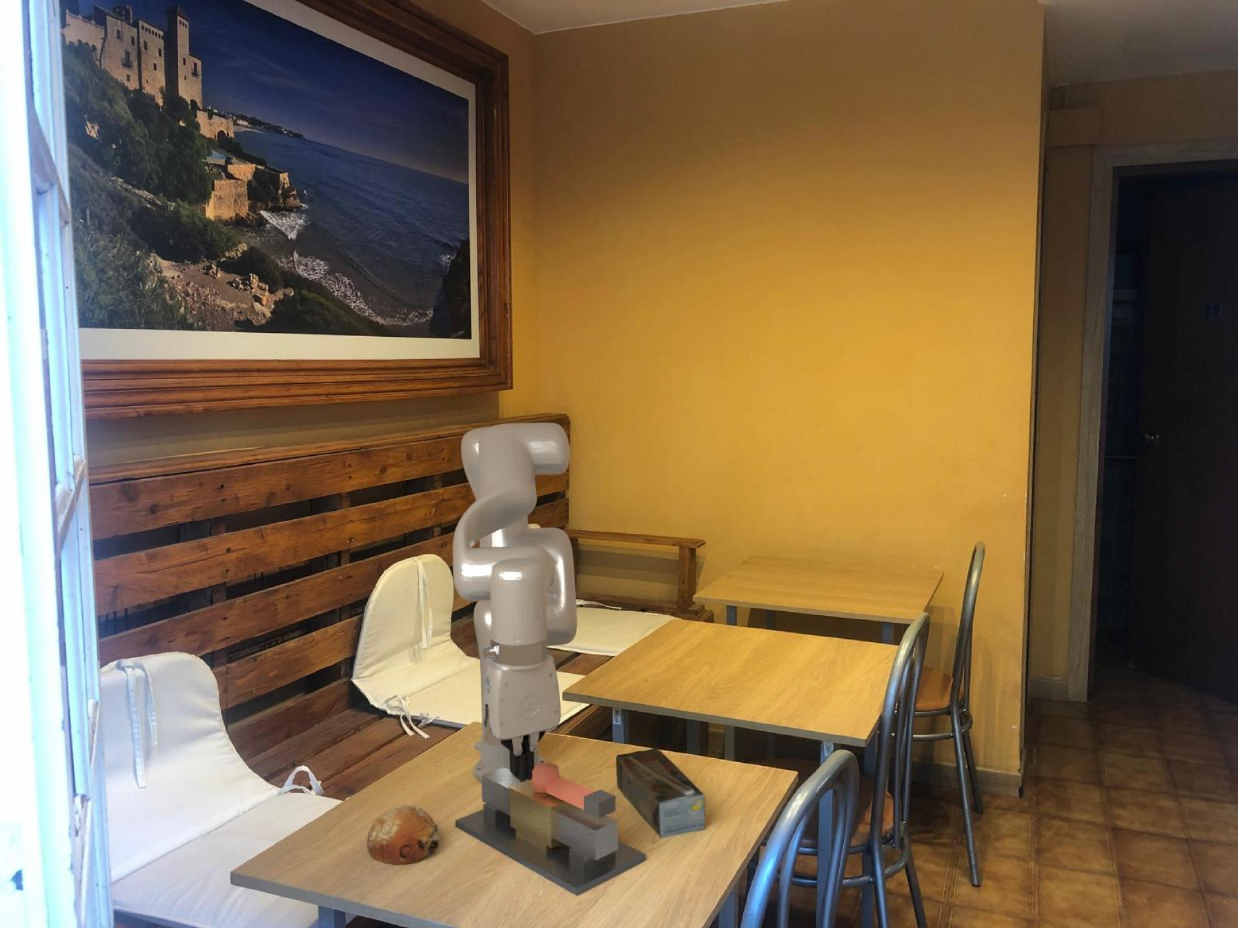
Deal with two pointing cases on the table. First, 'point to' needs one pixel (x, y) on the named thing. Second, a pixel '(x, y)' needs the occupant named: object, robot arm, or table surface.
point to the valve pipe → (548, 834)
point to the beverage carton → (660, 792)
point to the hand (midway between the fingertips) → (522, 776)
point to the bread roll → (402, 836)
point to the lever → (572, 791)
